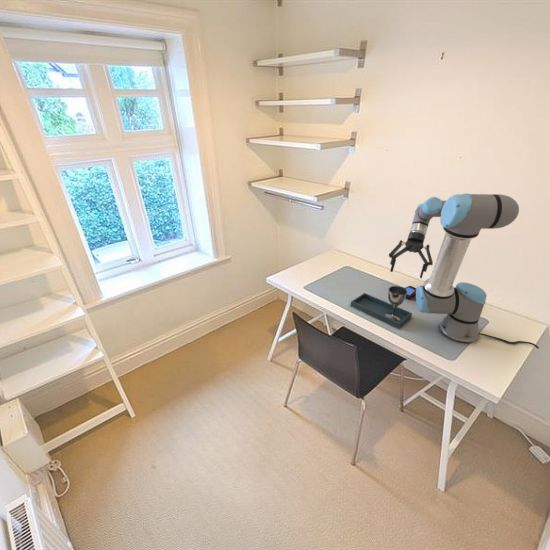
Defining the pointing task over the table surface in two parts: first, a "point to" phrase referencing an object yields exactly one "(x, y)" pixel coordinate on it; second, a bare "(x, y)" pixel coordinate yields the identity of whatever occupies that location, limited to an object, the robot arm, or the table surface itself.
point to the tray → (380, 309)
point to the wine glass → (396, 300)
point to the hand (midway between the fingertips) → (405, 274)
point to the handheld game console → (410, 291)
